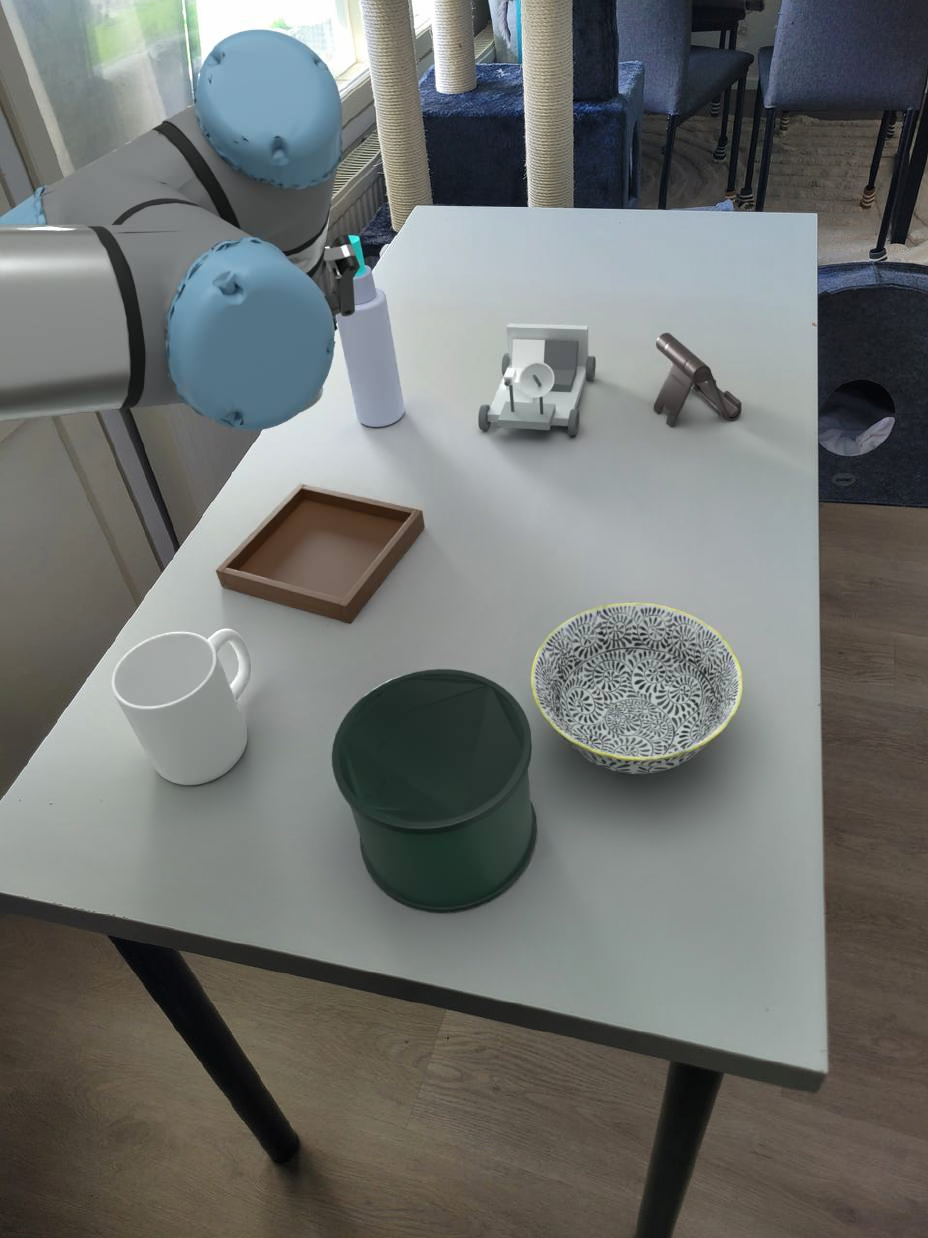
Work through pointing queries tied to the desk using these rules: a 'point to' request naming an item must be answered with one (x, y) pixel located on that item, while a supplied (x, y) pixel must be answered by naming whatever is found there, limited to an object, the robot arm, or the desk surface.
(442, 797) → the bucket
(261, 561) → the tray
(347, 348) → the spray bottle
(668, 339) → the tablet stand
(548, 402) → the toy car
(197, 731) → the cup
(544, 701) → the bowl
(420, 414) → the desk surface
